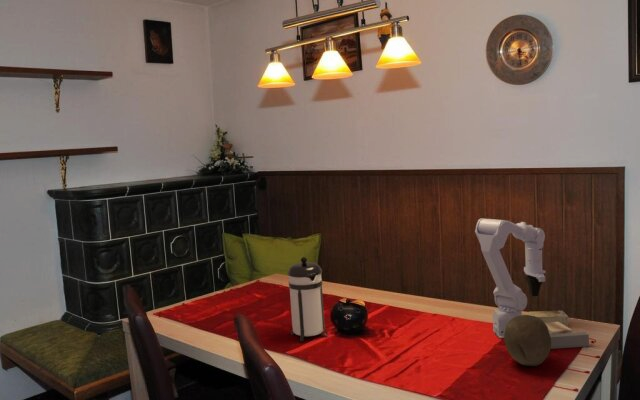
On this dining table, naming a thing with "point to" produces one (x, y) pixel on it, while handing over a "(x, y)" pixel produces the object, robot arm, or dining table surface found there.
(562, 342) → the grey board
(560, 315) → the skincare box
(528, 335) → the cantaloupe
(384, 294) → the dining table surface
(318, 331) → the coffee press
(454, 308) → the dining table surface
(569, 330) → the birch block
